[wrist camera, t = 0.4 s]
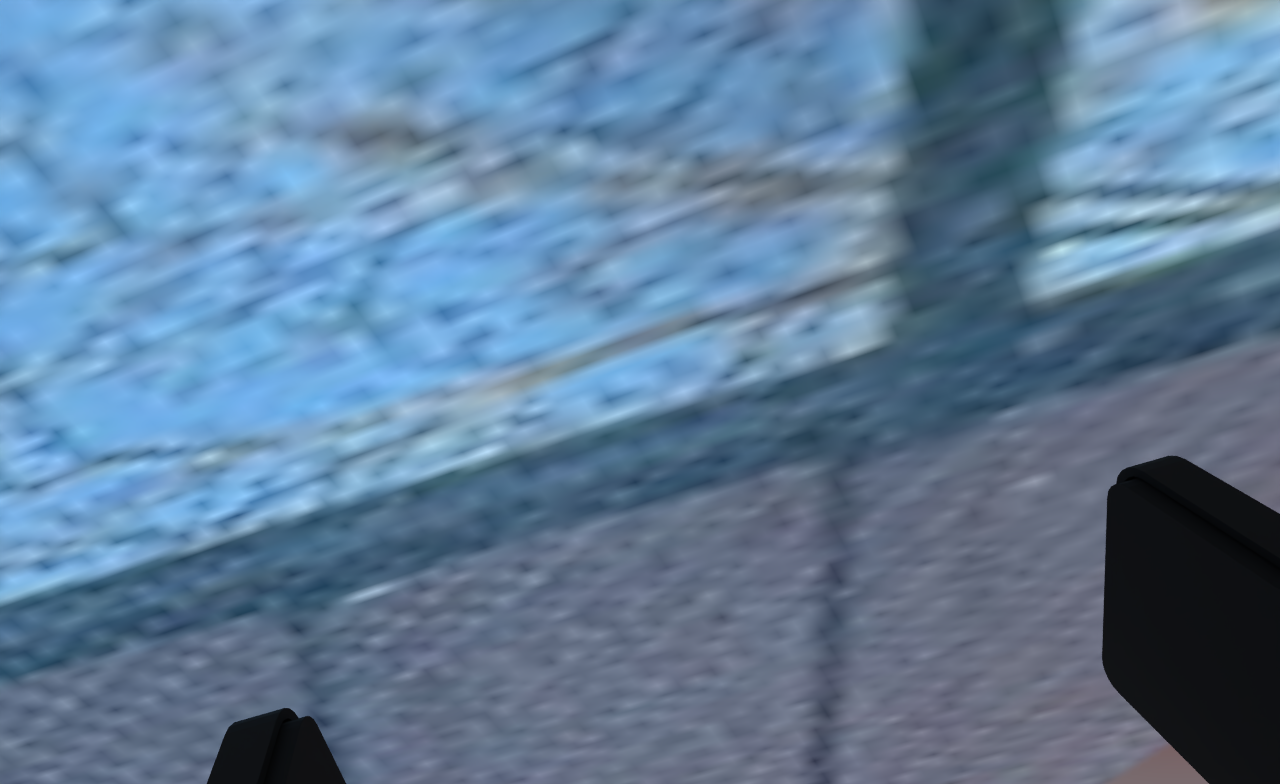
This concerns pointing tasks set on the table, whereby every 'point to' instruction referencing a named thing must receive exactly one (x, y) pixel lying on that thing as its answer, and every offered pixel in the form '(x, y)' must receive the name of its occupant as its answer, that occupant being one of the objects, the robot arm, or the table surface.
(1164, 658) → the robot arm
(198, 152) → the table surface
